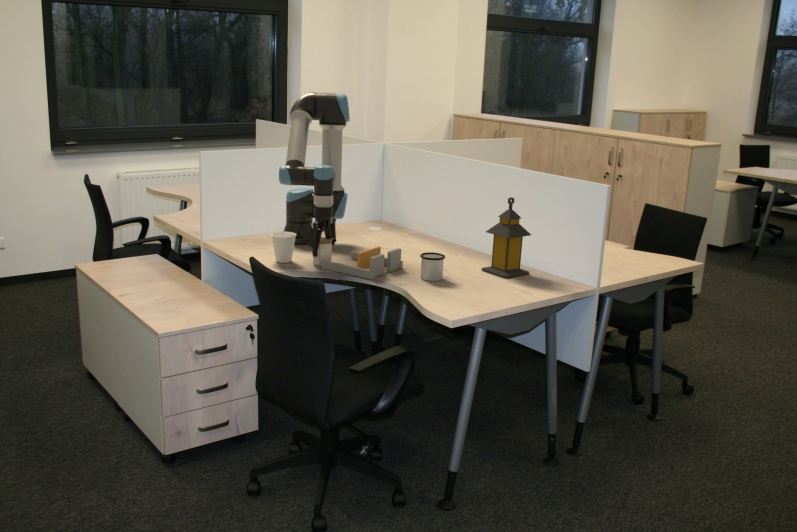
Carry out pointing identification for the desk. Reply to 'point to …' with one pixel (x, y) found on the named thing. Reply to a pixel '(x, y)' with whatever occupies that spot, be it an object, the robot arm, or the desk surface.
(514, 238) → the lantern
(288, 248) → the cup
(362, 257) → the pusher
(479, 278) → the desk surface
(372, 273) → the lane
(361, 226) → the desk surface
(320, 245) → the jar
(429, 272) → the mug
